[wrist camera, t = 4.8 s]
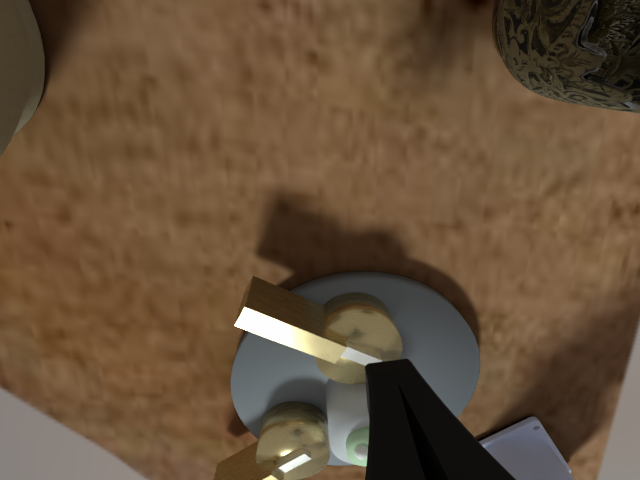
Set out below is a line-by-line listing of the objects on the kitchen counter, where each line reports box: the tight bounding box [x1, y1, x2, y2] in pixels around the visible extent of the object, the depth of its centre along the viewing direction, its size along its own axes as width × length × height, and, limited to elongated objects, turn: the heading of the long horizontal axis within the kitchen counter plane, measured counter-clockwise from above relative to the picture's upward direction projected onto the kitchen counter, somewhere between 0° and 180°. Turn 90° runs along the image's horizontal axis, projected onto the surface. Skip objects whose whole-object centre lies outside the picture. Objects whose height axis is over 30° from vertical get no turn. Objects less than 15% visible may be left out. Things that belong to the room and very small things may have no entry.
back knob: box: [214, 402, 330, 480], centre depth 21 cm, size 9×5×3 cm, turn 126°
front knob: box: [235, 276, 402, 384], centre depth 17 cm, size 9×5×3 cm, turn 61°
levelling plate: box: [231, 271, 480, 466], centre depth 19 cm, size 17×17×6 cm
